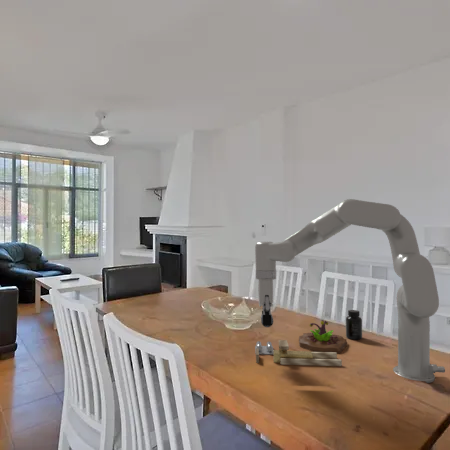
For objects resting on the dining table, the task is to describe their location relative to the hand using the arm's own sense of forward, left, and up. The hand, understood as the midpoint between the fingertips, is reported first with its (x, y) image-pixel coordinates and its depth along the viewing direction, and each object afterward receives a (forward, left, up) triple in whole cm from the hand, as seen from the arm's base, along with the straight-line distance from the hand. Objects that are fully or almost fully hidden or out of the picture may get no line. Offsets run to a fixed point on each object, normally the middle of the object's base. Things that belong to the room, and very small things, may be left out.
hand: (266, 322), depth 132 cm
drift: (-10, +1, -14) cm, 17 cm away
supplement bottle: (-40, -29, -14) cm, 52 cm away
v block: (0, -10, -14) cm, 17 cm away
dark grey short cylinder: (+1, 0, +3) cm, 3 cm away
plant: (-24, -19, -14) cm, 34 cm away
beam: (-16, 0, -14) cm, 21 cm away
